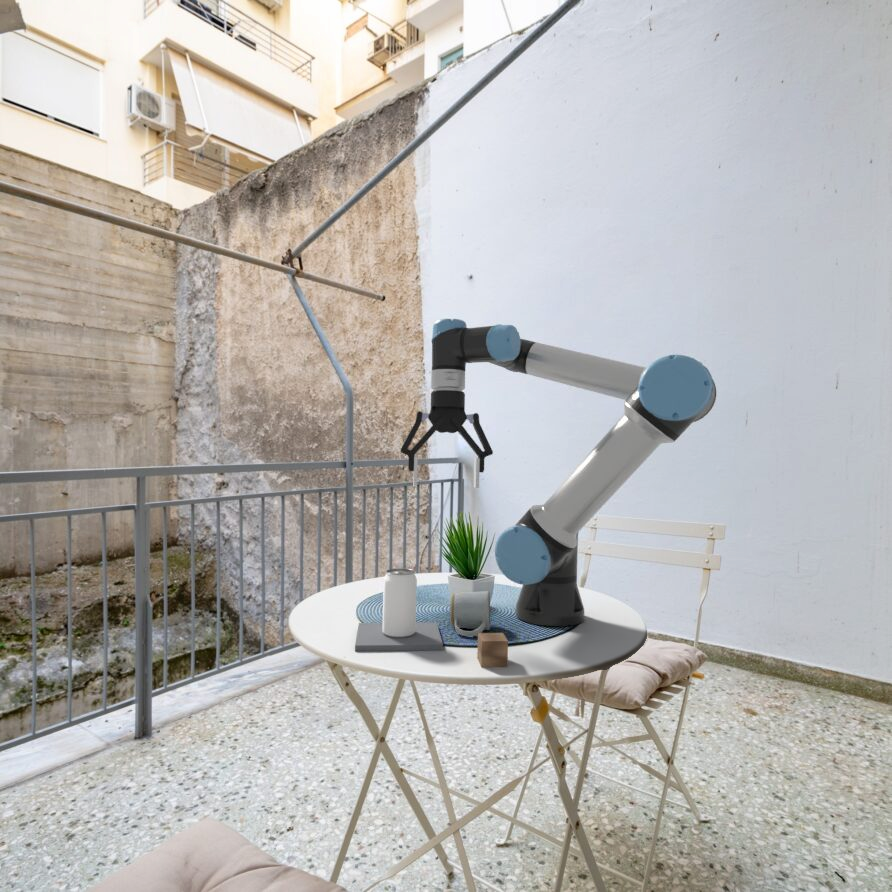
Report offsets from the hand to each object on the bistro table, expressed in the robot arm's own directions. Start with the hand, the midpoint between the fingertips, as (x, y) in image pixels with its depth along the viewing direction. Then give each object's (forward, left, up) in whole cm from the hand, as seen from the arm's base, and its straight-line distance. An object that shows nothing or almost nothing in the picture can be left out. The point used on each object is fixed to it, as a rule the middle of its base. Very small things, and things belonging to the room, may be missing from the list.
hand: (445, 487), depth 129 cm
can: (+10, +14, -28) cm, 33 cm away
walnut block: (-6, +28, -29) cm, 40 cm away
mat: (+10, +14, -29) cm, 33 cm away
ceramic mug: (-5, +9, -29) cm, 31 cm away
